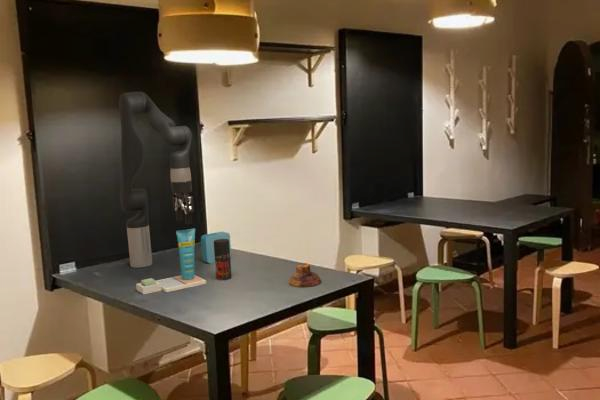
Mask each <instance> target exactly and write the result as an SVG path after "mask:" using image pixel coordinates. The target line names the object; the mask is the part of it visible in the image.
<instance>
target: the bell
mask: <svg viewBox="0 0 600 400" xmlns="http://www.w3.org/2000/svg"><path fill="white" fill-rule="evenodd" d="M295 271H296V272H295V273H294V274H292V275H291V276H290V277H289V279H288V283H289V285H290V286H292V287H294V288H311V287H315V286H317V285H320V283H321V282H322V281H321V277H320V276H319V275H318V274H317V273H316V272H315V271H311V264H309V263H307V262H305V263H303V265H297V266H296V267H295Z"/></svg>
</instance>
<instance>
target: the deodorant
mask: <svg viewBox="0 0 600 400" xmlns="http://www.w3.org/2000/svg"><path fill="white" fill-rule="evenodd" d="M214 254H215V263H214V264H215V265H214V267H215V277H216V278H215V279H216V280H217V281H227V280H231V279H232V277H233V276H232V262H231V258H230V248H229V239H217V240H214Z"/></svg>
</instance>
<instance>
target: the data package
mask: <svg viewBox="0 0 600 400" xmlns="http://www.w3.org/2000/svg"><path fill="white" fill-rule="evenodd" d="M217 239H229V248H230V259H231V258H232V247H231V246H232V245H231V234H230V233H229V232H226V231H217V232H212V233H211V232H210V233H206V234H203V235H201V237H200V243H201V258H202V261H203V262H204V263H206V264H215V254H214V240H217Z"/></svg>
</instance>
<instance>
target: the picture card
mask: <svg viewBox="0 0 600 400" xmlns="http://www.w3.org/2000/svg"><path fill="white" fill-rule="evenodd" d="M156 281H157V282H158V283H160V284H161V289H162V291H163V292H166V293H169V292H174V291H178V290H182V289H188V288H192V287H197V286H202V285H205V284H207V280H206V279H204V278H202V277H200V276H197V275H195V278H194V279H191V280H183V279H182V276H181V275H177V276H173V277H172V276H171V277H167V278H163V279H158V280H156Z"/></svg>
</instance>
